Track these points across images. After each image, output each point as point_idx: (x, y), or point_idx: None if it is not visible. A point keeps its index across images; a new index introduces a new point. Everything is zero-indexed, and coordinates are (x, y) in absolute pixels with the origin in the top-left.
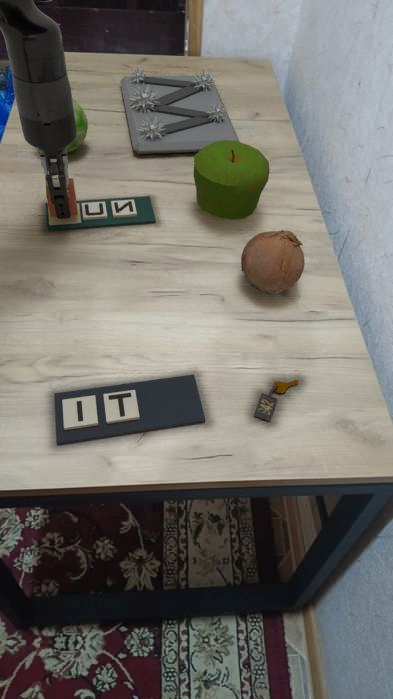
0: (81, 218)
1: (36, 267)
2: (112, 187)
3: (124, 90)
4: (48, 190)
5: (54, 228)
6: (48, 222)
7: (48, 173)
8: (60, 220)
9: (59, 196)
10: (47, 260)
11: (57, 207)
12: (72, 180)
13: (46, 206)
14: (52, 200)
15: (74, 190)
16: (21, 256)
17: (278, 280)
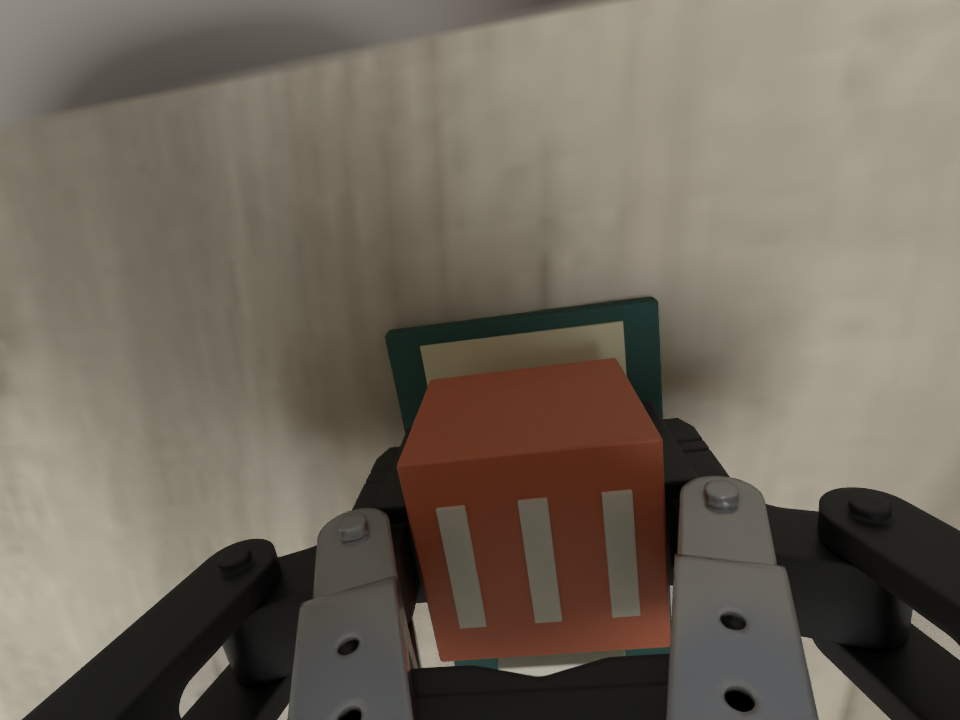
0: None
1: (85, 302)
2: None
3: None
4: (481, 475)
5: (394, 378)
6: (449, 338)
7: (411, 687)
8: None
9: (238, 651)
10: (151, 353)
11: (357, 501)
12: (631, 645)
13: (618, 309)
14: (180, 594)
15: (490, 658)
16: (151, 204)
17: None
